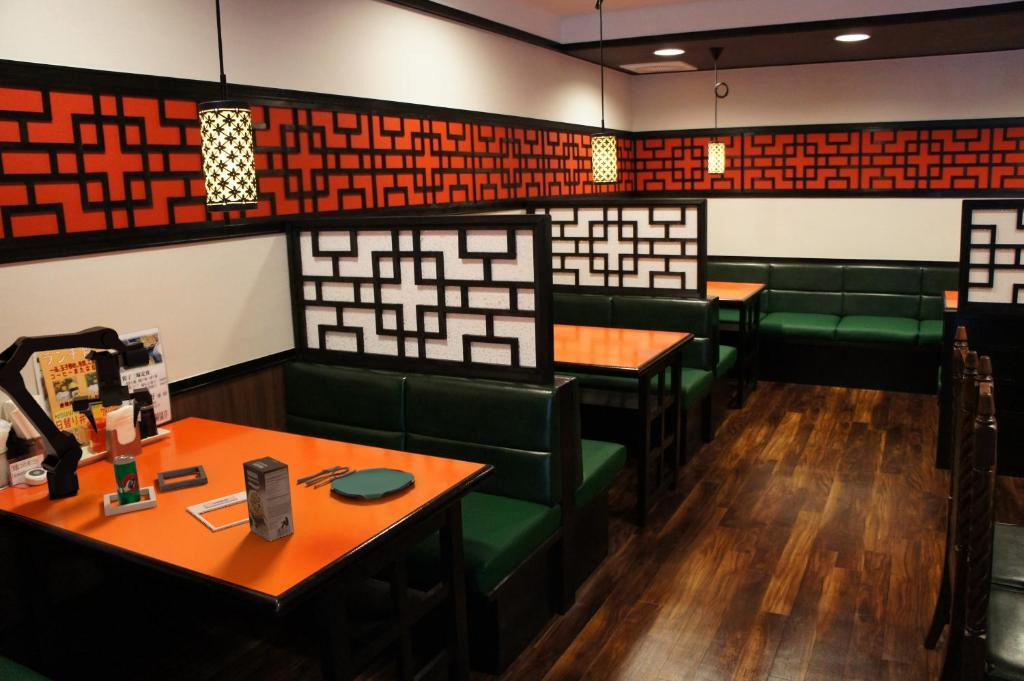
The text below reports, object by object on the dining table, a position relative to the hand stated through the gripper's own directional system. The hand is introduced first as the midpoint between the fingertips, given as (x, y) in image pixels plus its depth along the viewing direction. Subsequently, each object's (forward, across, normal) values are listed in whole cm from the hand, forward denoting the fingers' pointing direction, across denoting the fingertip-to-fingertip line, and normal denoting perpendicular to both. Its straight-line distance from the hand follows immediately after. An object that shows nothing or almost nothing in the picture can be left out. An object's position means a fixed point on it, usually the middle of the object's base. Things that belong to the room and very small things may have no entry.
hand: (116, 430), depth 221 cm
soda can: (+13, +1, -23) cm, 27 cm away
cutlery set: (+14, +54, -41) cm, 69 cm away
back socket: (+13, +14, -13) cm, 23 cm away
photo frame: (+14, +22, -42) cm, 49 cm away
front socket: (+13, +1, -23) cm, 26 cm away
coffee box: (+13, +28, -60) cm, 68 cm away
